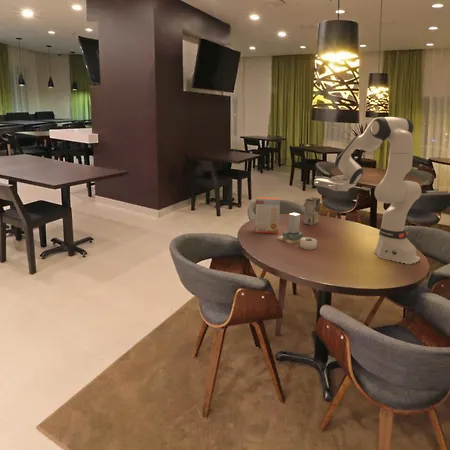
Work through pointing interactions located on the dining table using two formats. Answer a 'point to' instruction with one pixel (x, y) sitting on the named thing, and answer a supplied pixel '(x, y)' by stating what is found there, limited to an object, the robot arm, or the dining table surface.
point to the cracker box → (267, 215)
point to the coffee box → (311, 210)
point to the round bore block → (308, 243)
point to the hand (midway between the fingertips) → (321, 185)
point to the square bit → (293, 223)
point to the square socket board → (291, 238)
